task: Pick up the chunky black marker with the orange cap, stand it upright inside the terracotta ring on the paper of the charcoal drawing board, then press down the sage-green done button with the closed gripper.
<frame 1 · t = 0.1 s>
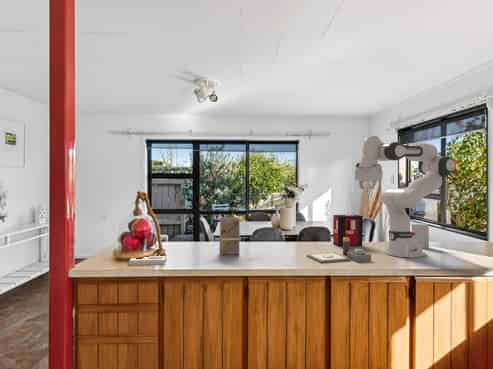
hand: (366, 189, 195), 39 cm above the countertop, tool pointing down, fingers open, 8 cm apart
brown tall block: (229, 255, 200), on the countertop
cleaning product box: (347, 245, 231), on the countertop
button housing: (358, 259, 189), on the countertop
drawing board: (327, 258, 192), on the countertop
holder: (153, 256, 199), on the countertop
marker: (346, 255, 201), on the countertop
done button: (358, 252, 189), point 4 cm above the countertop, slide at 0.0 cm
skincare box: (420, 247, 225), on the countertop
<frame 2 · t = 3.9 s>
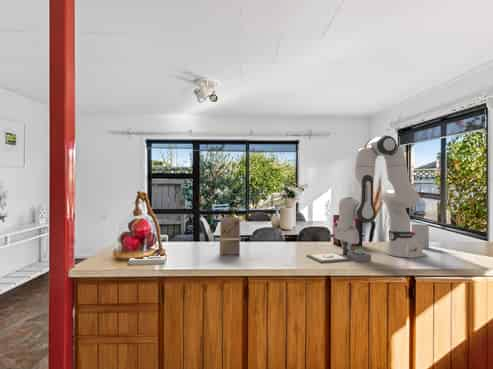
hand: (346, 248, 201), 4 cm above the countertop, tool pointing down, fingers closed on marker, 3 cm apart
marker: (346, 255, 201), on the countertop, touching gripper
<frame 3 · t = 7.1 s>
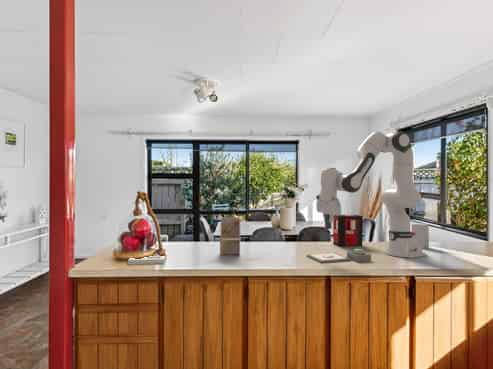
hand: (328, 222, 191), 20 cm above the countertop, tool pointing down, fingers closed on marker, 3 cm apart
marker: (328, 228, 191), point 17 cm above the countertop, touching gripper
when the fingers open (6 cm above the countertop, at t = 10.3 s): marker drops 1 cm, resting on drawing board.
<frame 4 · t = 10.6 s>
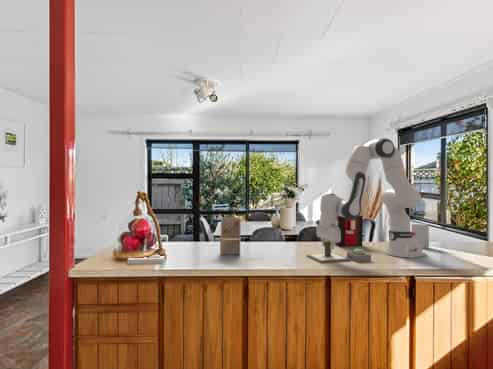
hand: (328, 247, 191), 6 cm above the countertop, tool pointing down, fingers open, 7 cm apart
marker: (327, 256, 192), point 1 cm above the countertop, touching drawing board
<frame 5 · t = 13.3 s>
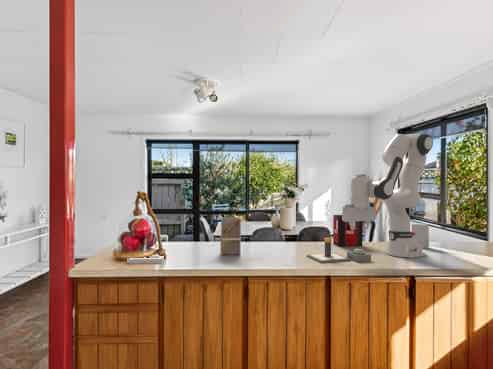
hand: (359, 229, 189), 17 cm above the countertop, tool pointing down, fingers open, 7 cm apart
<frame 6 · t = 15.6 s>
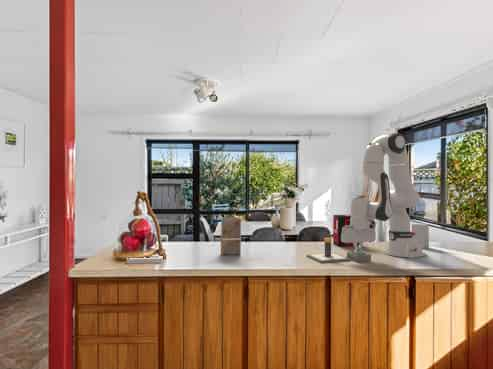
hand: (358, 250, 189), 5 cm above the countertop, tool pointing down, fingers closed, pressing on done button
done button: (358, 252, 189), point 4 cm above the countertop, slide at 0.3 cm, touching gripper
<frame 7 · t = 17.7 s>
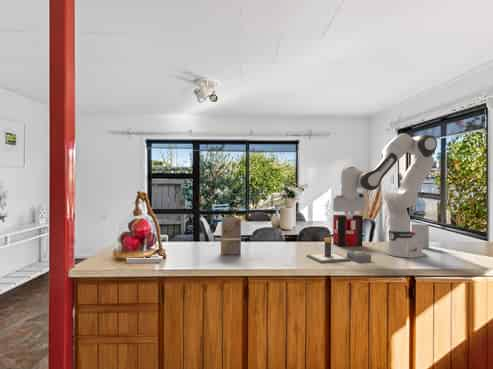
hand: (349, 218, 199), 21 cm above the countertop, tool pointing down, fingers closed
done button: (358, 255, 189), point 2 cm above the countertop, slide at 1.5 cm, touching button housing
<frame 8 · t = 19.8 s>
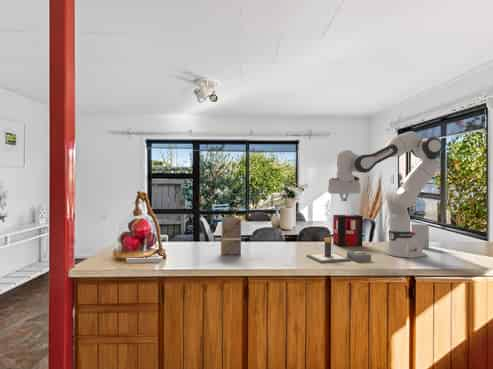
hand: (344, 201, 204), 31 cm above the countertop, tool pointing down, fingers closed
at the end: marker 0.1 cm off-centre on the drawing board, point 1.3 cm above the drawing board's base; marker tilted 0°; done button slide at 1.5 cm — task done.
